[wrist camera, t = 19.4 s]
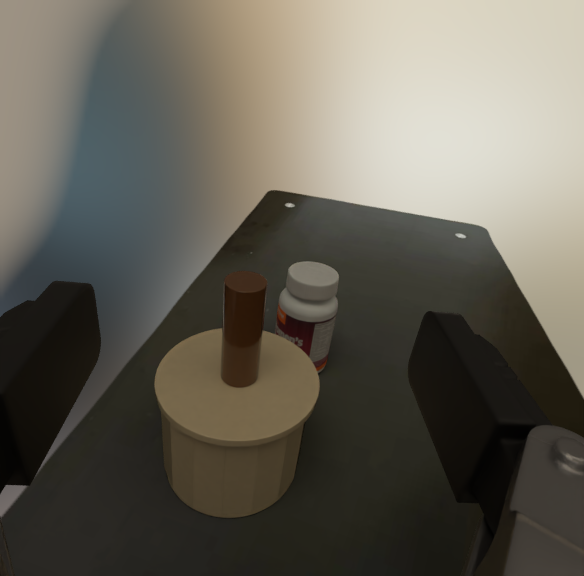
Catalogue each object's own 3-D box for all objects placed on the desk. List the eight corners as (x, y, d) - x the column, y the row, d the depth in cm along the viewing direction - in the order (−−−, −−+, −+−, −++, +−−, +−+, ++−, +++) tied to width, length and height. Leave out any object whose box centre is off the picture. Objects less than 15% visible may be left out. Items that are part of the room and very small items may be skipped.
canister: (194, 545, 29) (194, 465, 25) (148, 432, 37) (142, 356, 33) (322, 479, 35) (340, 405, 31) (259, 393, 43) (266, 324, 38)
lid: (190, 483, 25) (189, 361, 20) (135, 360, 33) (125, 255, 28) (349, 414, 31) (376, 308, 26) (268, 325, 39) (278, 234, 35)
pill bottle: (260, 358, 47) (269, 268, 42) (297, 337, 51) (310, 253, 46) (301, 388, 44) (316, 295, 38) (337, 363, 48) (356, 276, 42)
